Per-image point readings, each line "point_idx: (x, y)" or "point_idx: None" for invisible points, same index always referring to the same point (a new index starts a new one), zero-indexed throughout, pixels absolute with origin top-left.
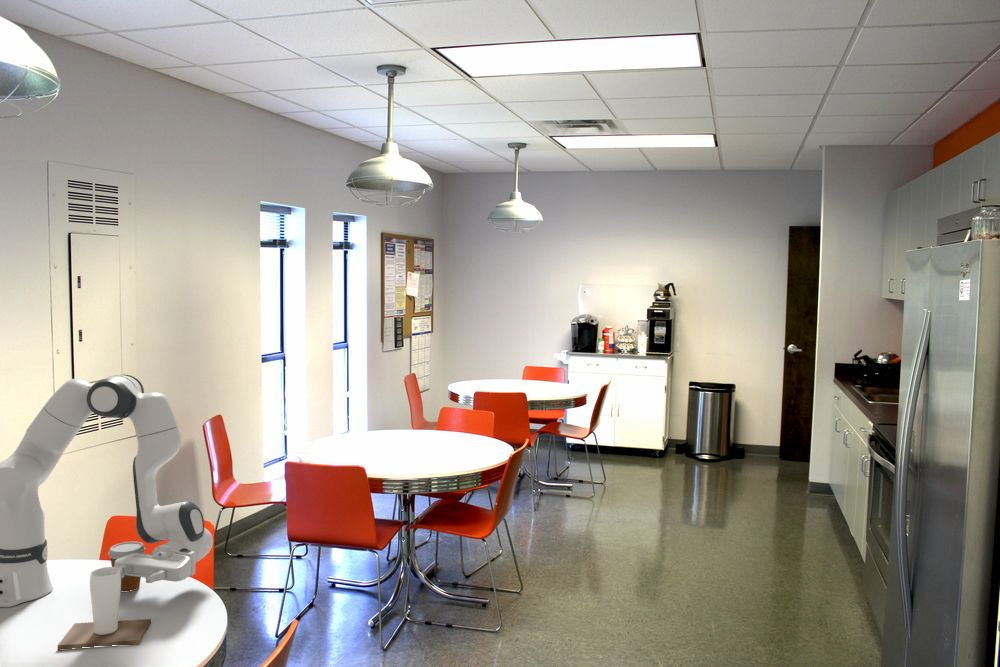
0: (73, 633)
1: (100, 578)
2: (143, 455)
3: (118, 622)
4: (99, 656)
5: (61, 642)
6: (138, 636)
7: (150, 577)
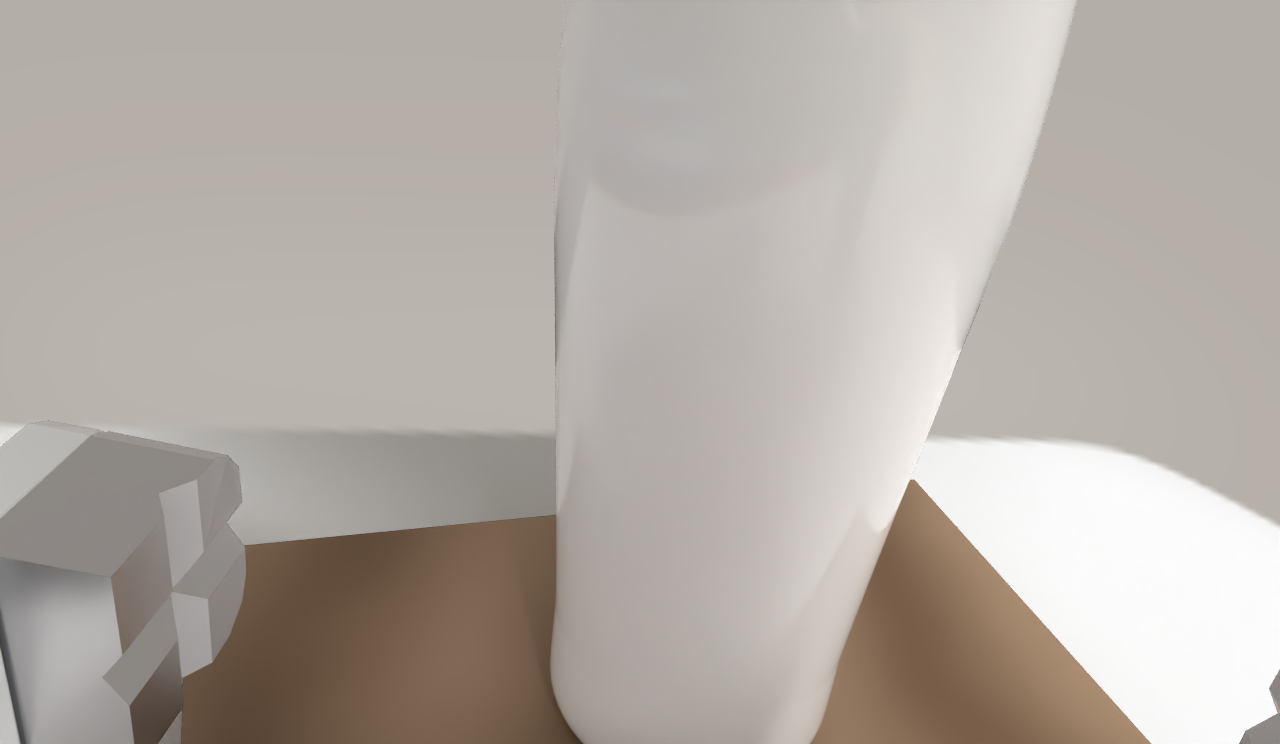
0: (993, 642)
1: None
2: None
3: None
4: (490, 452)
5: (929, 513)
6: None
7: (62, 431)
